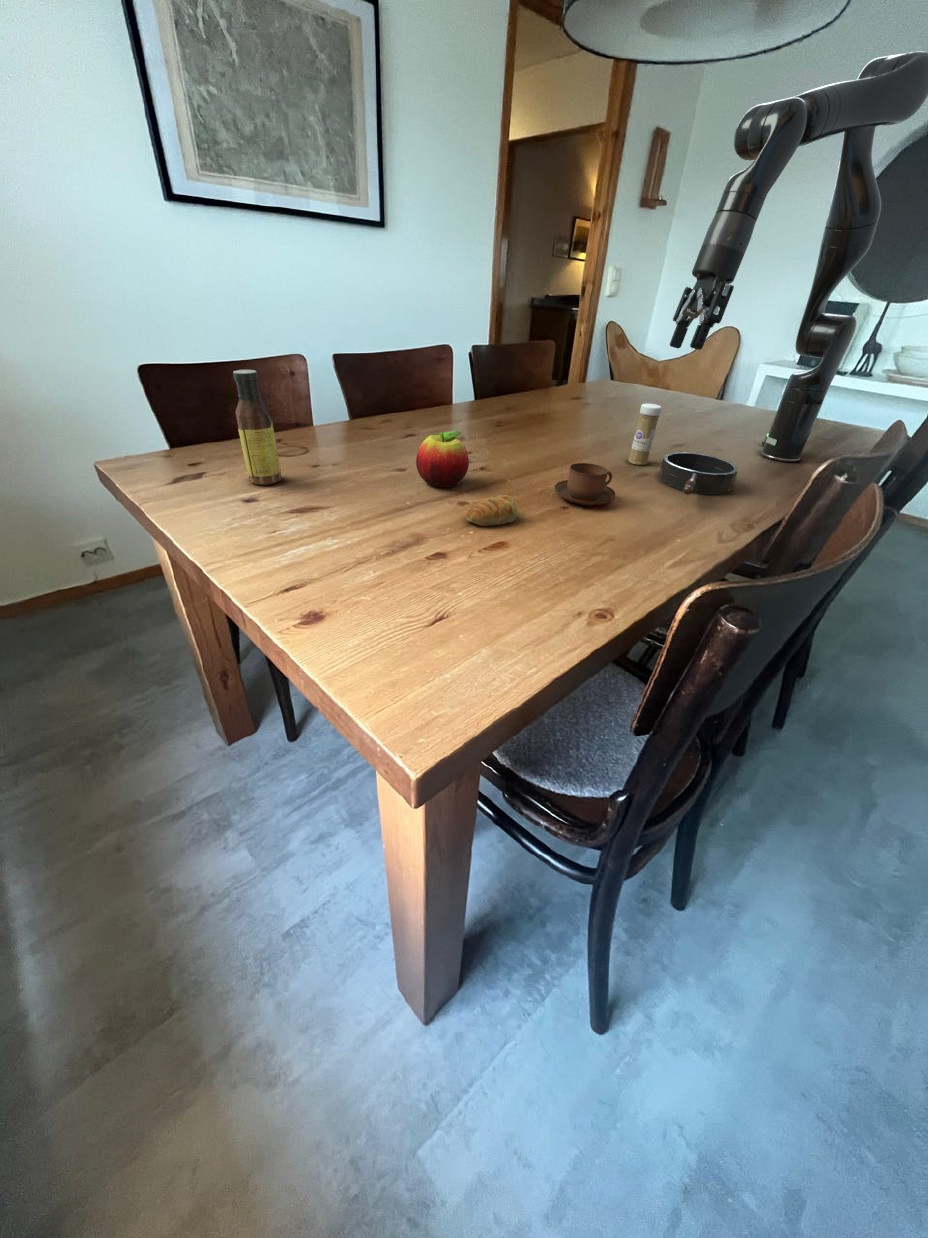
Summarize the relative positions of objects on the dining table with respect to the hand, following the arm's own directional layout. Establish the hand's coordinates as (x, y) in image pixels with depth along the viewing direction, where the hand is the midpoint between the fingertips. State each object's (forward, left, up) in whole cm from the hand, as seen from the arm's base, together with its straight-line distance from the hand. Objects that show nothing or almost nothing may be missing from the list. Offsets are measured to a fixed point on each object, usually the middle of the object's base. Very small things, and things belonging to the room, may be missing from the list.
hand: (684, 347), depth 101 cm
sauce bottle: (+22, -78, -27) cm, 86 cm away
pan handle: (+8, +6, -24) cm, 26 cm away
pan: (-4, +11, -27) cm, 29 cm away
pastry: (+29, -32, -27) cm, 51 cm away
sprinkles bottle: (-15, 0, -27) cm, 31 cm away
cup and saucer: (+14, -15, -27) cm, 34 cm away
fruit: (+13, -44, -27) cm, 53 cm away
